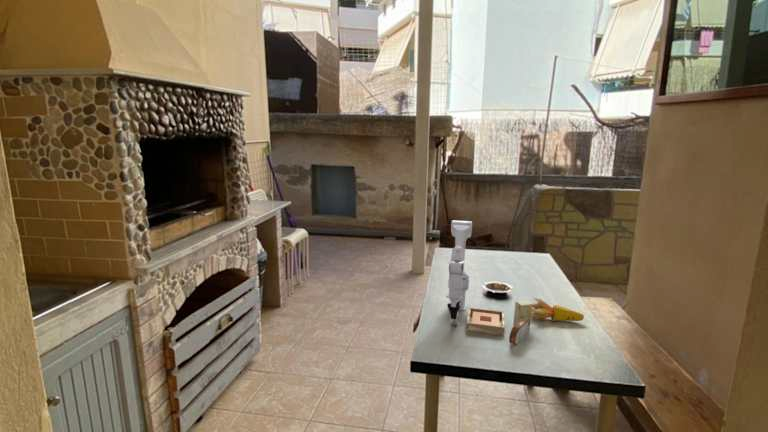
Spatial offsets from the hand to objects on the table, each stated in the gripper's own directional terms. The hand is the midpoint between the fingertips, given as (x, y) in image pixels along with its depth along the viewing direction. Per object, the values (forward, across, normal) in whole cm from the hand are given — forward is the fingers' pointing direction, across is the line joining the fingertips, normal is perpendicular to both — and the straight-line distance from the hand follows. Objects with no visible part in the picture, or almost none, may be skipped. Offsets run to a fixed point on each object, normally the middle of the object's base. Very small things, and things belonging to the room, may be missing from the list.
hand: (454, 315), depth 187 cm
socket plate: (+5, -4, +14) cm, 15 cm away
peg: (+5, 0, 0) cm, 5 cm away
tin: (+5, +6, +28) cm, 29 cm away
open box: (+5, -4, +14) cm, 15 cm away
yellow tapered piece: (+5, -17, +45) cm, 49 cm away
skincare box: (+5, -6, +30) cm, 31 cm away
